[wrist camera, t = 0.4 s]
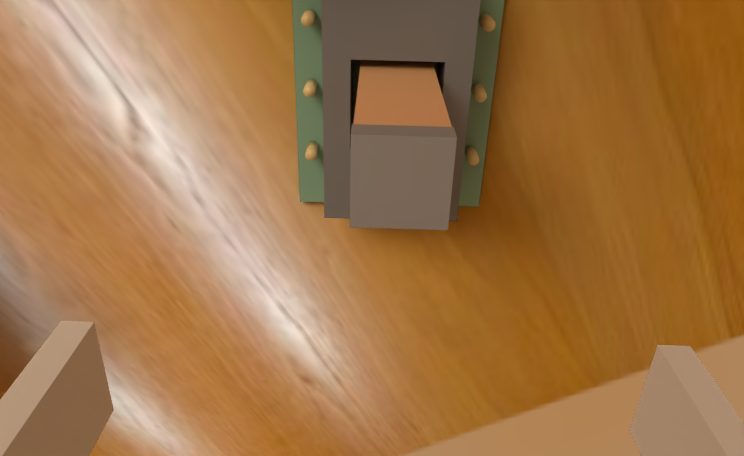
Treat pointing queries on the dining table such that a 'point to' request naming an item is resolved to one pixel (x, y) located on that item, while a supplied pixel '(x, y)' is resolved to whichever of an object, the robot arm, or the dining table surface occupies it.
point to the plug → (400, 148)
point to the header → (391, 43)
